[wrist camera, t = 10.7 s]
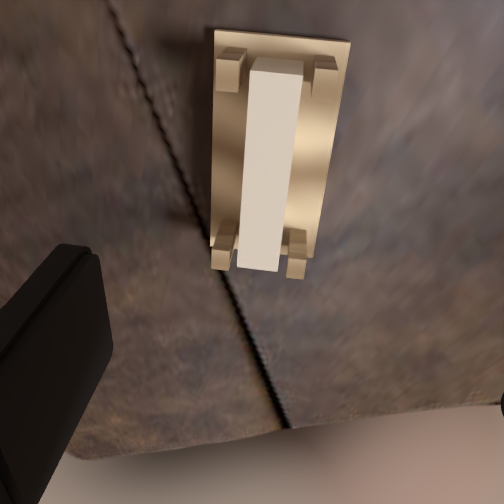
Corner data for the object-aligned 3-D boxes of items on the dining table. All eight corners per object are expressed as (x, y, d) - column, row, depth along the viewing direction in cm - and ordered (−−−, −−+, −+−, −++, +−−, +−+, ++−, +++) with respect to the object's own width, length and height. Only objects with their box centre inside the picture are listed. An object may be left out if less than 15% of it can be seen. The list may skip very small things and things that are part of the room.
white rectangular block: (257, 56, 33) (250, 70, 29) (303, 60, 33) (303, 75, 29) (243, 236, 42) (236, 266, 38) (280, 240, 42) (277, 271, 38)
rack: (216, 28, 33) (201, 40, 28) (349, 40, 33) (357, 55, 28) (212, 240, 44) (199, 276, 39) (312, 252, 43) (313, 289, 38)
